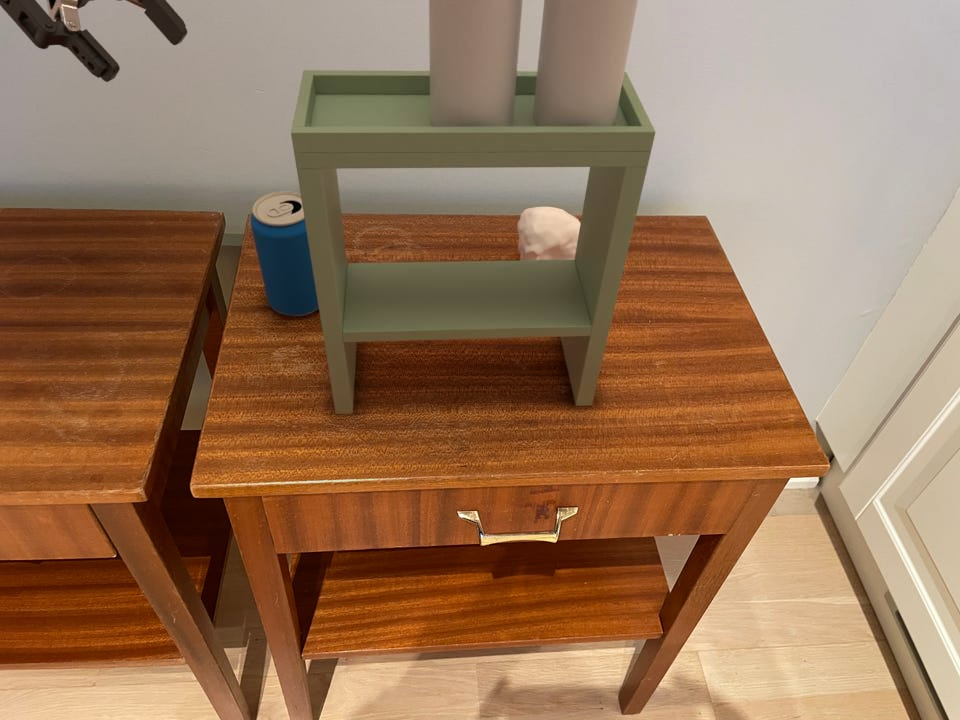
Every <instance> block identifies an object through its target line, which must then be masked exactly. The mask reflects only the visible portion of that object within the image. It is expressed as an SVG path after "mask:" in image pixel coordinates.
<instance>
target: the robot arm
mask: <svg viewBox="0 0 960 720" xmlns="http://www.w3.org/2000/svg"><path fill="white" fill-rule="evenodd" d="M91 1H93V2H94V0H46V5H47V10H48V13H47V12H46V10H45V9H43V7H42V6H41V5H40V4H39V3H38V1H37V0H0V7H1V8H2V10H4V12H5V13H6V14H7V15H8V16H9V17H10V18H11V20H12V21H13V22H14V23H15V24H16V26H18V28H19V29H20V30H21V31H22V32H23V33H24V34H25V35H26V36H27V38H28V39H29V40H30V41H31V42H32V43H33V45H34V46H35V47H37V48H38V49H41V50H47V49H48V48H49V47H50V46H61V47H62V48H65V49H68V50H69V51H70V52H71V54H73V56H74V57H75V58H76V59H77V60H78V61H79V62H80V63H81V64H82V65H83V66H84V67H85V68H86V69H87V70H88V72H90V74H91V75H93V76H94V77H95V78H98V79H99V78H101V79H102V81H104V82H106V83H108V82H110V81H112V80H114V79H115V78H116V77H117V75H118V73H119V71H120V70H121V67H120V64H119V63H118V62H117V60H116V59H115V58H114V57H113V56H111V55H112V54H110V53H109V52H108V51H107V49H105V48H104V46H103V45H102V44H101V43H100V42H99V41H98V40H97V39H96V38H95V36H93V35H92V34H91V32H89V30H88V29H86V28H85V29H84V30H82V28H81V27H82V26H81V21H80V15H79V11H78V10H79V9H81V8H83V7H85V6H86V5H87V4H88V3H89V2H91ZM118 1H120V2H121V1H122V0H117V2H118ZM125 1H126V2H128V3H131V4H132V5H134V6H137V7H139V8H141V9H144V14H145V16H146V17H147V18H148V19H149V20H150V21H151V23H153V25H154V26H155V27H156V29H158V31H159V32H160V33H161V34H162V35H163V36H164V37H165V38H166V39H167V41H168V42H169V43H170V44H171V45H172V46H177V45H179V44H181V43H182V42H183V41H184V39H185V38H186V36H187V34H188V29H187V25H186V23H185V21H184V19H183V18H182V17H181V16H180V15H179V14H178V13H177V11H175V9H174V8H173V7H172V6H171V5H170V3H169V2H168V1H167V0H125Z"/></svg>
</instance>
